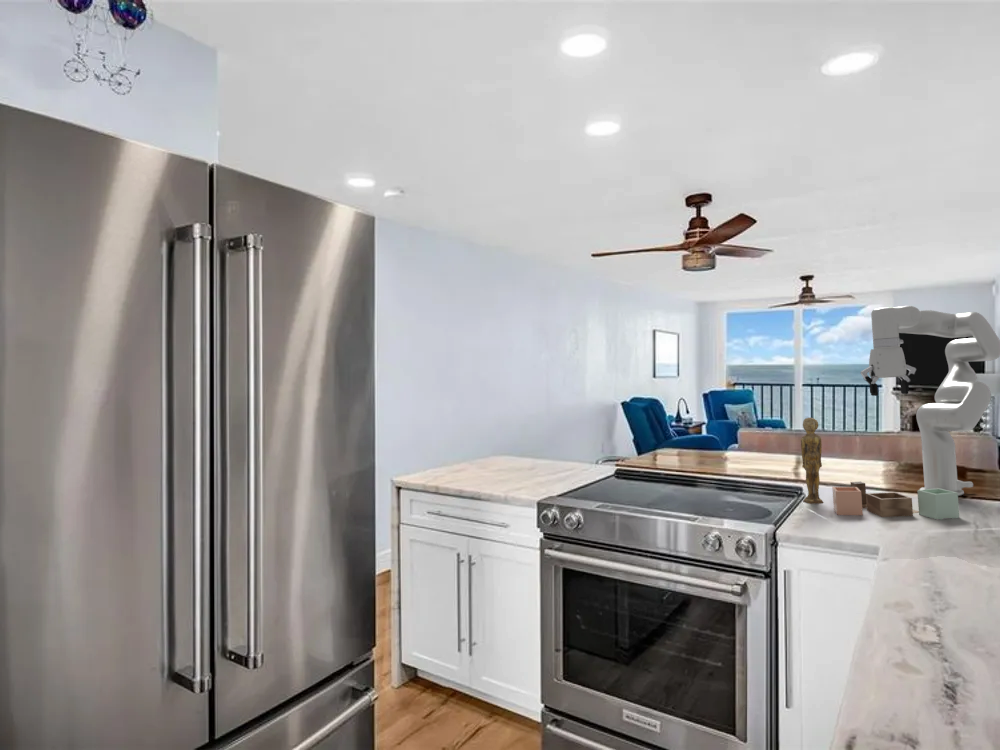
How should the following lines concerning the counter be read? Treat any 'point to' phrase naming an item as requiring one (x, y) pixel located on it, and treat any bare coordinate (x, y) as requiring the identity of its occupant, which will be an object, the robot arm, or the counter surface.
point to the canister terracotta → (847, 501)
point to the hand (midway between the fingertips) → (889, 394)
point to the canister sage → (938, 503)
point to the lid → (863, 491)
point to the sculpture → (811, 459)
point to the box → (889, 504)
